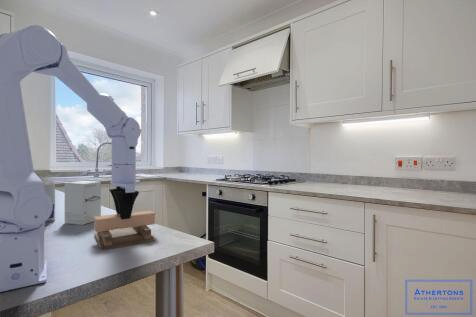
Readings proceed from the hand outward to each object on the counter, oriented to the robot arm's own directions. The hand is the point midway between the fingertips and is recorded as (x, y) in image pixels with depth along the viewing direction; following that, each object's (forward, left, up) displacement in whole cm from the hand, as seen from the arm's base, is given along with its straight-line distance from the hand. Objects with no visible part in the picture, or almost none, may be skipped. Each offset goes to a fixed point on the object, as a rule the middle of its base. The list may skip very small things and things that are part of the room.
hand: (123, 216), depth 69 cm
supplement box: (+24, +7, -6) cm, 26 cm away
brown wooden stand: (0, 0, -6) cm, 6 cm away
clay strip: (0, 0, -2) cm, 3 cm away
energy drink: (+30, +17, -6) cm, 35 cm away
